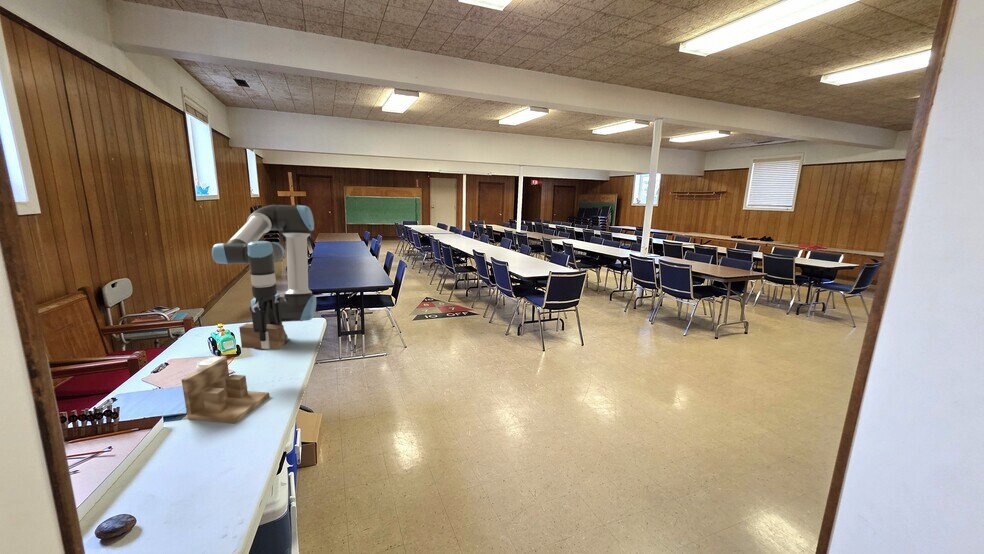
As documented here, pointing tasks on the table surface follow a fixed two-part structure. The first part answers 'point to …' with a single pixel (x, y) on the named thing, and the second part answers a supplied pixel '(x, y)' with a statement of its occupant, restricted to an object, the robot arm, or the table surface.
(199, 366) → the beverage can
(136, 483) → the table surface
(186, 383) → the wooden step bracket
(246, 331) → the rail
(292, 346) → the table surface
